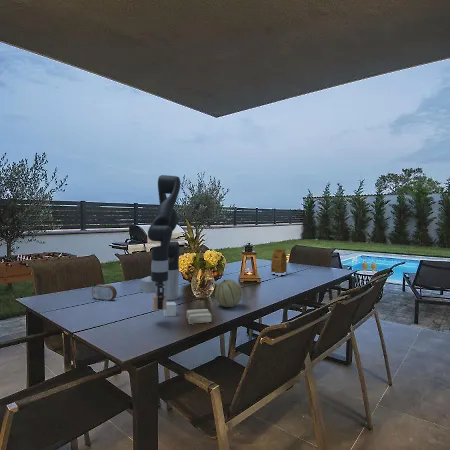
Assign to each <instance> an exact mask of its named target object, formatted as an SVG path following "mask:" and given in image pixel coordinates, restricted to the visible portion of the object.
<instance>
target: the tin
mask: <svg viewBox="0 0 450 450" xmlns="http://www.w3.org/2000/svg"><path fill="white" fill-rule="evenodd" d="M117 294H118V293H117V289H116V287H114V286H113V285H111V284H103V283H98V284H96V285H93V287H92V288H91V296H92V297H93V298H94V299H95V300H99V301H100V300H101V301H112V300H114V299H115V298H116V297H117Z"/></svg>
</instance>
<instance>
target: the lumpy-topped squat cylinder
mask: <svg viewBox="0 0 450 450" xmlns="http://www.w3.org/2000/svg"><path fill="white" fill-rule="evenodd" d="M155 284H156V282H154V281H152V280H151V275H149V276H145V277H143V278H141V279H140V292H143V293H146V294H147V293H149V294H150V293H151V294H152V293H155Z"/></svg>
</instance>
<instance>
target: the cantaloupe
mask: <svg viewBox="0 0 450 450" xmlns="http://www.w3.org/2000/svg"><path fill="white" fill-rule="evenodd" d="M214 296H215V299H216V300H215V301H216V302H217V303H218V304H219V305H220V306H222V307H223V308H233V306H234V307H236V306H237V305H239V304H240V302H241V300H242V299H243V290H242V287H241V285H240V284H239V283H238V282H237V281H236V280H234V279H223V281H220V282H219V283H218V284H217V285H216V287H215V290H214Z"/></svg>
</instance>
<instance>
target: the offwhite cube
mask: <svg viewBox="0 0 450 450" xmlns="http://www.w3.org/2000/svg"><path fill="white" fill-rule="evenodd" d="M163 316H164V317H165V316H166V317H177V303H176V302H175V301H166V310H163Z"/></svg>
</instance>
